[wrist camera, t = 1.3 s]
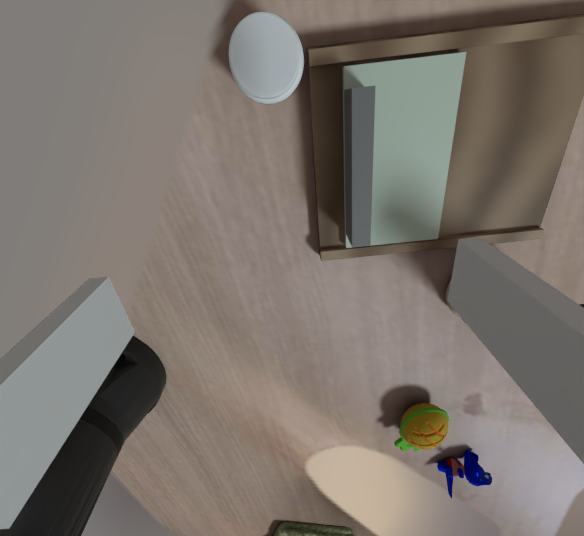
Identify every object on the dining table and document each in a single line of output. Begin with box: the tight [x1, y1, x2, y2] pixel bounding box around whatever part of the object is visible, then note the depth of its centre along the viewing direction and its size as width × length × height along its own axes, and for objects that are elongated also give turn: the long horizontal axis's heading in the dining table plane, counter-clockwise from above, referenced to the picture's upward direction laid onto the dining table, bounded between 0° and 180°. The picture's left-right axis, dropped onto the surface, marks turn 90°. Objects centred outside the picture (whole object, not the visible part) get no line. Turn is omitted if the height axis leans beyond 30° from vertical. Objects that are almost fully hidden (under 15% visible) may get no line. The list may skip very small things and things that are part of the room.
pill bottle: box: [229, 12, 304, 104], centre depth 20 cm, size 5×5×8 cm
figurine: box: [437, 451, 492, 498], centre depth 50 cm, size 5×8×5 cm, turn 123°
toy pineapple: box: [395, 403, 449, 451], centre depth 43 cm, size 7×10×5 cm
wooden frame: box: [307, 14, 584, 261], centre depth 26 cm, size 22×18×2 cm
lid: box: [342, 52, 466, 248], centre depth 25 cm, size 9×15×4 cm, turn 6°
